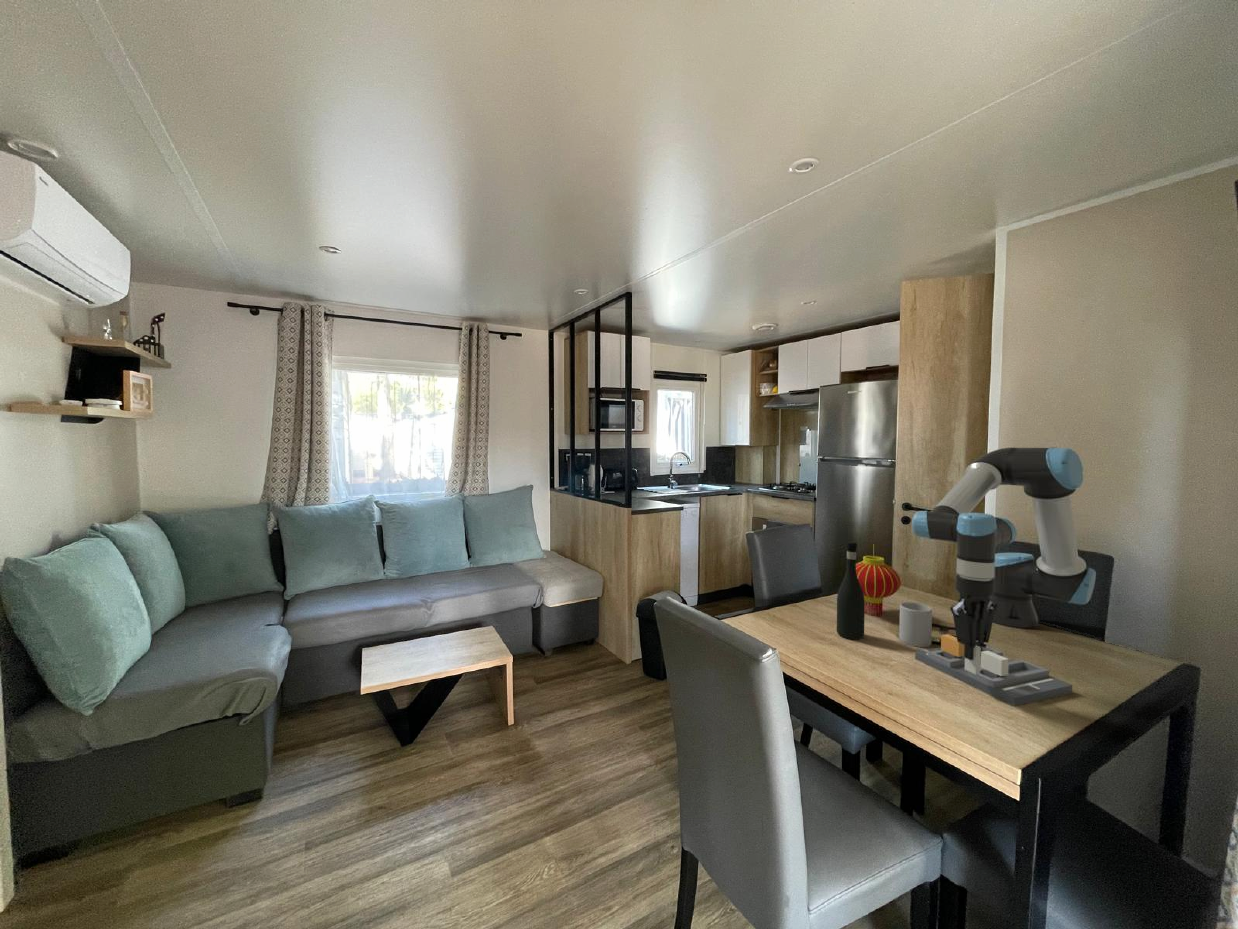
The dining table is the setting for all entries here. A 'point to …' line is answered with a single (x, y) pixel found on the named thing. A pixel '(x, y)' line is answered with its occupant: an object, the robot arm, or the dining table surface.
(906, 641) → the mug
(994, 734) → the dining table surface
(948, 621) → the dining table surface
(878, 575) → the lantern
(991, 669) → the fader
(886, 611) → the dining table surface
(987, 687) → the grey flat slotted tray
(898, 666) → the dining table surface
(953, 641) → the block
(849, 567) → the wine bottle
